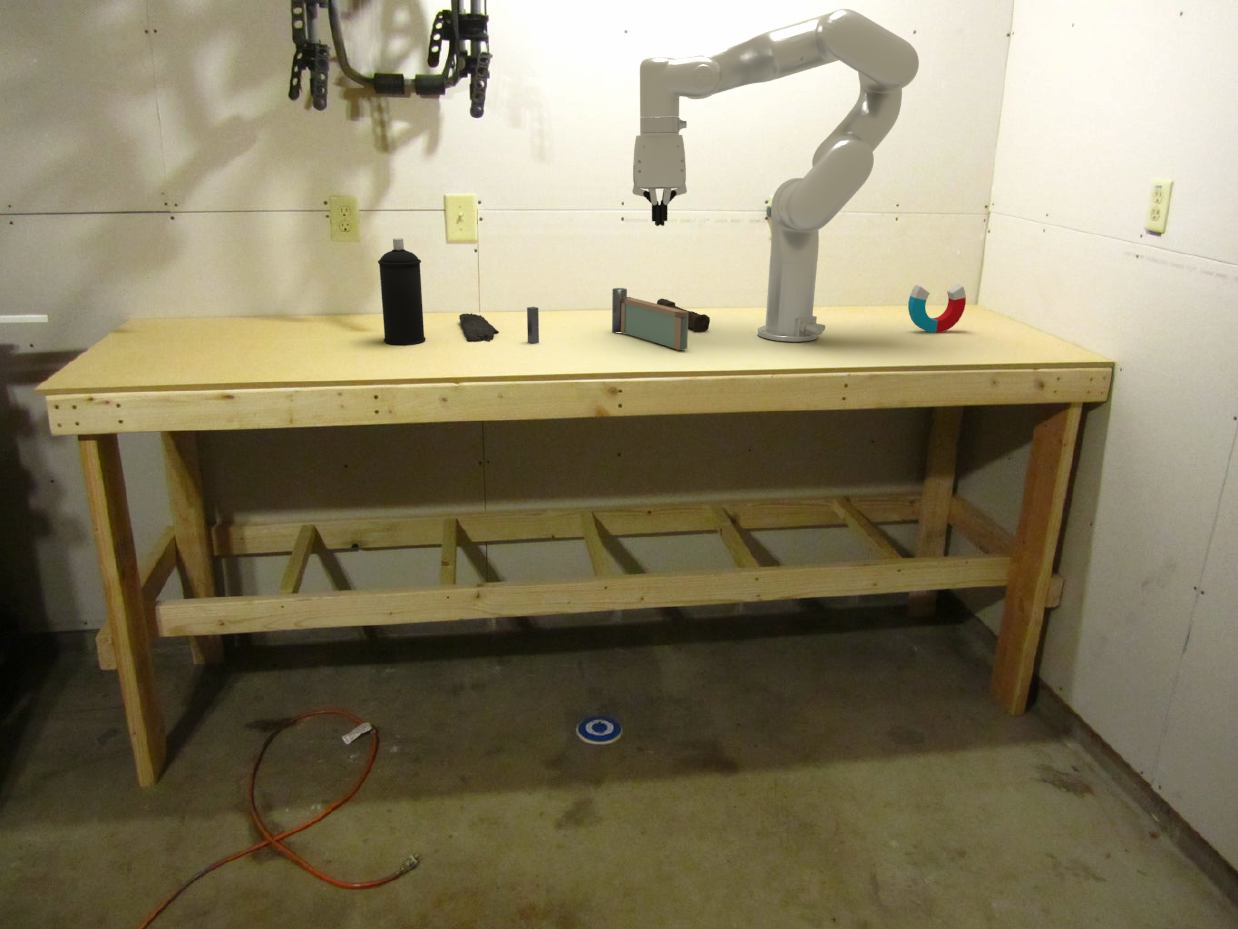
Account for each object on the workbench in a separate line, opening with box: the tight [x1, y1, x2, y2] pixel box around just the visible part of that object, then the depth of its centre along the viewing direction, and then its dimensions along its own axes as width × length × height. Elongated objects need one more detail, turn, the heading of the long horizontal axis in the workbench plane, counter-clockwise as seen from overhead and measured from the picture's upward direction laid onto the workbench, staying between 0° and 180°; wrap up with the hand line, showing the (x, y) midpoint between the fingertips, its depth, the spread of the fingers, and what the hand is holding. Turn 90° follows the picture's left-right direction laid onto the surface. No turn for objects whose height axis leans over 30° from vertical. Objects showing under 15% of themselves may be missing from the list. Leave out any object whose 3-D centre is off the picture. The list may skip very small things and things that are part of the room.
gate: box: [621, 296, 689, 351], centre depth 188 cm, size 2×19×7 cm, turn 36°
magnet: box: [907, 284, 967, 334], centre depth 201 cm, size 12×3×10 cm, turn 97°
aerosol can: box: [377, 237, 426, 346], centre depth 184 cm, size 8×8×20 cm
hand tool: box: [656, 298, 711, 333], centre depth 207 cm, size 19×4×5 cm, turn 26°
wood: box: [458, 312, 500, 343], centre depth 198 cm, size 22×7×3 cm, turn 14°
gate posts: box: [526, 287, 628, 344], centre depth 192 cm, size 3×23×9 cm, turn 124°
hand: (659, 224), depth 188 cm, fingers closed
